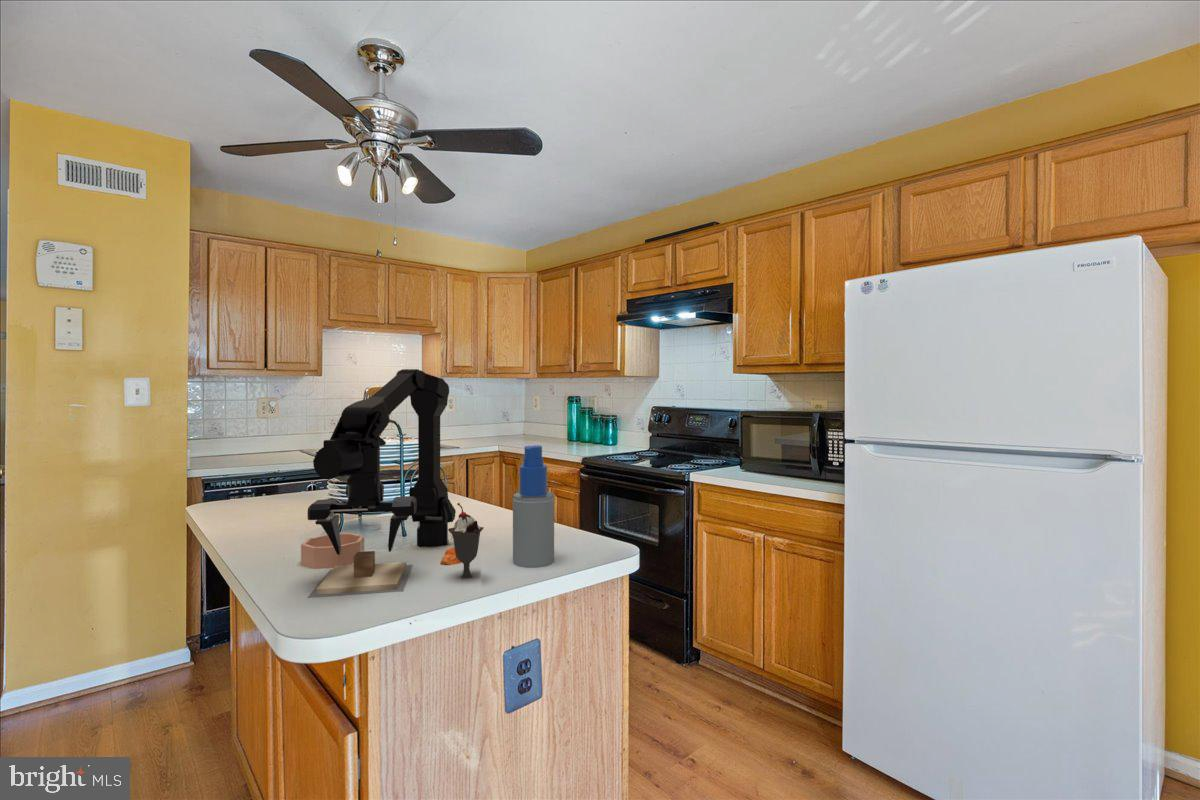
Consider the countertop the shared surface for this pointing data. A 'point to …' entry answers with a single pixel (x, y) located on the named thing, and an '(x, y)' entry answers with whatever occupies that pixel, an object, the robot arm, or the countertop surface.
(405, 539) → the countertop surface
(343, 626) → the countertop surface
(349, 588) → the lid
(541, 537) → the spray bottle
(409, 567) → the mat
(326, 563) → the bowl
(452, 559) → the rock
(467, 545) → the sundae
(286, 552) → the countertop surface
